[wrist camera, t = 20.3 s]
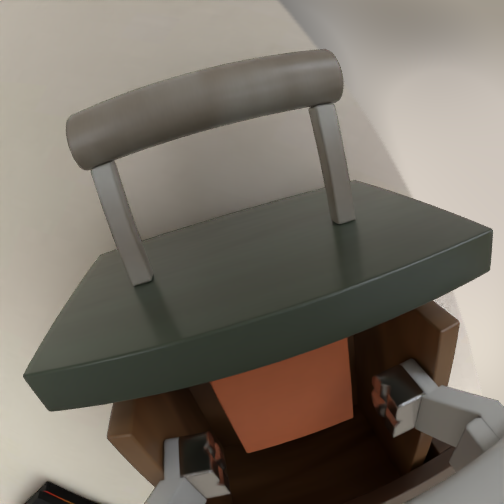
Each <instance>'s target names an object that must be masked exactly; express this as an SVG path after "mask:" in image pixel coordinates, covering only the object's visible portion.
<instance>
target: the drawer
mask: <svg viewBox="0 0 504 504" xmlns="http://www.w3.org/2000/svg"><path fill="white" fill-rule="evenodd" d="M342 93H343V75H342V71H341V67H340V65H339V63H338V60H337V59H336V57H335V56H334V54H333V53H332V52H330V51H329V50H326V49H320V50H309V51H300V52H292V53H285V54H278V55H271V56H265V57H259V58H253V59H248V60H243V61H238V62H233V63H228V64H224V65H219V66H215V67H211V68H206V69H202V70H199V71H195V72H191V73H187V74H184V75H180V76H176V77H173V78H170V79H166V80H163V81H160V82H157V83H153V84H150V85H147V86H144V87H141V88H138V89H136V90H133V91H130V92H127V93H124V94H122V95H119V96H116V97H114V98H111V99H109V100H106V101H104V102H101V103H99V104H96V105H94V106H91V107H89V108H87V109H84V110H82V111H80V112H78V113H75V114H73V115H71V116H70V117H69V118H68V119H67V122H66V136H67V141H68V145H69V148H70V151H71V153H72V156H73V158H74V160H75V161H76V163H77V164H78V166H79V167H80V168H81V169H83V170H91V169H92V170H91V174H92V177H93V181H94V184H95V187H96V190H97V193H98V196H99V199H100V202H101V205H102V208H103V211H104V214H105V216H106V219H107V222H108V225H109V228H110V230H111V233H112V236H113V238H114V241H115V244H116V246H117V249H116V250H113V251H110V252H107V253H104V254H101V255H100V256H99V257H98V258H97V260H96V261H95V262H94V264H93V265H92V267H91V268H90V269H89V271H88V272H87V274H86V275H85V276H84V278H83V279H82V281H81V282H80V284H79V285H78V287H77V288H76V290H75V291H74V292H73V294H72V295H71V297H70V298H69V300H68V301H67V303H66V304H65V306H64V308H63V309H62V311H61V312H60V314H59V315H58V317H57V318H56V320H55V322H54V323H53V325H52V326H51V328H50V330H49V331H48V333H47V334H46V336H45V338H44V339H43V341H42V343H41V344H40V346H39V348H38V350H37V351H36V353H35V355H34V357H33V358H32V360H31V362H30V364H29V365H28V367H27V369H26V371H25V373H24V374H23V377H24V379H25V380H26V382H27V383H28V384H29V386H30V387H31V389H32V390H33V391H34V393H35V394H36V395H37V397H38V398H39V399H40V400H41V402H42V403H43V404H44V405H45V407H46V408H47V409H48V410H49V411H60V410H68V409H76V408H83V407H90V406H97V405H103V404H109V403H113V406H112V411H111V416H110V421H109V427H108V432H107V439H108V440H109V441H110V442H111V443H112V445H113V446H114V447H115V448H116V449H117V450H118V451H119V452H120V453H121V454H122V455H123V456H124V457H125V458H126V460H127V461H128V462H129V463H130V464H131V465H132V466H133V467H134V468H135V469H136V470H137V471H138V472H139V473H140V474H141V475H142V476H144V477H145V478H146V479H147V480H148V481H149V482H150V483H151V484H152V485H153V486H154V487H156V486H157V484H158V483H159V481H160V480H164V441H165V439H169V438H175V437H181V436H187V435H192V434H198V433H203V432H208V431H210V432H211V434H212V435H213V437H214V442H216V443H218V444H219V446H220V448H221V450H222V452H223V455H224V459H225V463H226V468H225V470H224V473H225V474H226V476H227V477H228V480H229V486H230V492H231V494H227V495H223V496H218V497H213V498H208V499H207V501H206V503H205V504H340V503H342V502H345V501H347V500H350V499H352V498H355V497H357V496H360V495H362V494H364V493H367V492H369V491H371V490H374V489H376V488H378V487H380V486H382V485H384V484H386V483H389V482H391V481H393V480H395V479H397V478H399V477H401V476H403V475H405V474H406V473H408V472H410V471H412V470H414V469H416V468H418V467H419V466H421V465H423V463H424V461H425V458H426V455H427V453H428V450H429V447H430V444H431V441H432V438H433V437H432V436H430V435H427V434H425V433H423V432H421V431H419V430H417V429H415V428H413V429H411V430H409V431H407V432H405V433H403V434H400V435H398V436H396V437H394V438H393V437H392V435H391V434H390V432H389V431H388V429H387V427H386V426H385V418H384V417H381V416H379V415H378V413H377V412H376V410H375V408H374V405H373V402H372V397H371V392H372V391H373V389H374V387H373V385H372V377H373V376H375V375H377V374H379V373H381V372H383V371H385V370H387V369H389V368H392V367H394V366H396V365H399V364H401V363H403V362H405V361H407V360H408V359H411V358H412V359H414V360H415V361H416V362H417V363H418V364H419V365H420V366H421V368H422V369H423V370H424V371H425V372H426V373H427V374H428V375H429V377H430V378H431V379H432V380H433V381H434V382H435V383H436V384H437V386H438V387H439V386H441V385H444V386H448V382H449V377H450V373H451V368H452V364H453V359H454V354H455V348H456V343H457V337H458V331H459V324H460V323H459V321H458V320H457V319H456V318H455V317H453V316H452V315H451V314H450V313H448V312H447V311H446V310H444V309H443V308H442V307H441V306H439V305H438V304H437V303H435V302H434V301H433V300H434V299H436V298H439V297H441V296H443V295H445V294H447V293H449V292H451V291H453V290H454V289H456V288H458V287H460V286H462V285H464V284H466V283H468V282H470V281H472V280H474V279H475V278H477V277H479V276H481V275H483V274H485V273H486V272H488V271H489V270H490V265H491V253H492V238H493V230H492V229H491V228H488V227H486V226H484V225H481V224H479V223H476V222H474V221H471V220H469V219H466V218H464V217H461V216H459V215H456V214H454V213H451V212H448V211H446V210H443V209H440V208H438V207H435V206H432V205H430V204H427V203H424V202H421V201H418V200H415V199H413V198H410V197H407V196H404V195H401V194H398V193H395V192H392V191H389V190H386V189H382V188H379V187H376V186H373V185H370V184H366V183H363V182H360V181H356V180H353V181H350V179H349V173H348V168H347V162H346V157H345V152H344V147H343V142H342V137H341V132H340V127H339V123H338V118H337V114H336V109H335V105H334V104H333V103H336V102H337V101H339V100H340V98H341V96H342ZM306 107H310V108H309V114H310V118H311V122H312V126H313V131H314V135H315V140H316V144H317V149H318V154H319V158H320V163H321V168H322V173H323V178H324V183H325V188H322V189H318V190H314V191H310V192H307V193H303V194H299V195H295V196H292V197H288V198H284V199H281V200H277V201H274V202H270V203H266V204H263V205H259V206H256V207H252V208H249V209H245V210H242V211H238V212H235V213H231V214H228V215H225V216H221V217H218V218H214V219H211V220H208V221H204V222H201V223H198V224H195V225H191V226H188V227H185V228H182V229H178V230H175V231H172V232H169V233H166V234H162V235H159V236H156V237H153V238H150V239H147V240H144V241H141V238H140V236H139V233H138V230H137V227H136V224H135V222H134V219H133V216H132V213H131V210H130V207H129V204H128V201H127V198H126V195H125V192H124V189H123V186H122V182H121V179H120V176H119V173H118V170H117V166H116V163H115V162H114V160H116V159H119V158H122V157H124V156H127V155H130V154H133V153H136V152H138V151H141V150H144V149H147V148H150V147H153V146H156V145H159V144H162V143H165V142H168V141H172V140H175V139H178V138H181V137H185V136H188V135H191V134H195V133H198V132H202V131H206V130H209V129H213V128H217V127H220V126H224V125H228V124H232V123H236V122H240V121H244V120H248V119H253V118H257V117H261V116H266V115H271V114H275V113H280V112H285V111H290V110H295V109H301V108H306ZM344 338H347V340H348V350H349V361H350V372H351V385H352V399H353V418H351V419H348V420H346V421H343V422H341V423H339V424H336V425H333V426H331V427H328V428H326V429H323V430H320V431H318V432H315V433H312V434H309V435H306V436H303V437H301V438H298V439H295V440H291V441H288V442H285V443H282V444H279V445H276V446H272V447H269V448H265V449H262V450H258V451H255V452H251V453H247V452H246V451H245V449H244V447H243V445H242V443H241V442H240V440H239V438H238V436H237V434H236V432H235V431H234V429H233V427H232V425H231V423H230V421H229V419H228V418H227V416H226V414H225V412H224V410H223V408H222V406H221V404H220V402H219V400H218V398H217V396H216V394H215V392H214V390H213V388H212V386H211V384H210V382H211V381H215V380H219V379H223V378H226V377H230V376H234V375H237V374H241V373H244V372H247V371H251V370H254V369H257V368H261V367H264V366H267V365H270V364H273V363H277V362H280V361H283V360H286V359H289V358H292V357H295V356H298V355H301V354H304V353H306V352H309V351H312V350H315V349H318V348H320V347H323V346H326V345H329V344H331V343H334V342H337V341H339V340H342V339H344Z"/></svg>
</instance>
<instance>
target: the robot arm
mask: <svg viewBox="0 0 504 504" xmlns="http://www.w3.org/2000/svg"><path fill="white" fill-rule="evenodd" d="M372 385H373V387H374V389H373V391H372V392H371V397H372V402H373V405H374V408H375V410H376V412H377V413H378V415H379V416H381V417H384V418H385V426H386V427H387V429H388V431H389V432H390V434H391V435H392V437H393V438H394V437H396V436H398V435H400V434H403V433H405V432H407V431H409V430H411V429H413V428H415V429H417V430H419V431H421V432H423V433H425V434H427V435H430V436H432V437H434V438H436V439H438V440H440V441H443V442H445V443H447V444H449V445H452V446H454V447H456V448H455V450H454V452H453V454H452V456H451V458H450V461H449V463H450V465H451V466H452V468H453V469H454V471H455V472H456V473H454V474H453V475H451V476H450V477H448V478H446V479H445V480H443V481H442V482H440V483H438V484H437V485H435V486H433V487H432V488H430V489H428V490H427V491H425V492H423V493H421V494H420V495H418V496H416V497H414V498H412V499H410V500H408V501H407V502H405V503H403V504H504V406H503V405H502V404H501V403H500V402H499V401H498V400H494V399H490V398H487V397H483V396H479V395H475V394H472V393H468V392H465V391H461V390H458V389H454V388H451V387H447V386H444V385H441V386H439V387H438V386H437V384H436V383H435V382H434V381H433V380H432V379H431V378H430V377H429V375H428V374H427V373H426V372H425V371H424V370H423V369H422V368H421V366H420V365H419V364H418V363H417V362H416V361H415V360H414V359H412V358H411V359H408V360H407V361H405V362H403V363H401V364H399V365H396V366H394V367H392V368H389V369H387V370H385V371H383V372H381V373H379V374H377V375H375V376H373V377H372ZM225 468H226V463H225V459H224V455H223V452H222V450H221V448H220V446H219V444H218V443H216V442H214V437H213V435H212V434H211V432H210V431H208V432H203V433H198V434H192V435H187V436H181V437H175V438H169V439H165V441H164V480H160V481H159V483H158V484H157V486H156V487H155V489H154V490H153V491H152V493H151V494H150V496H149V497H148V499H147V500H146V502H145V503H144V504H205V503H206V501H207V499H208V498H213V497H218V496H223V495H227V494H231V492H230V486H229V480H228V477H227V476H226V474H225V473H224V470H225Z"/></svg>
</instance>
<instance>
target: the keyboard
mask: <svg viewBox="0 0 504 504" xmlns="http://www.w3.org/2000/svg"><path fill="white" fill-rule="evenodd" d="M25 504H97V503H94V502H92V501H90V500H87V499H85V498H82V497H80V496H78V495H76V494H73V493H71V492H69V491H67V490H65V489H63V488H61V487H59V486H57V485H55V484H53V483H51V482H46V483H45V484H44V485H43V486H42V487H41V488H40V489H39V490H38V491H37V492H36V493H35V494H34V495H33V496H32V497H31V498H30V499H29V500H28V501H27V502H26V503H25Z"/></svg>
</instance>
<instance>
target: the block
mask: <svg viewBox="0 0 504 504" xmlns="http://www.w3.org/2000/svg"><path fill="white" fill-rule="evenodd" d="M210 384H211V386H212V388H213V390H214V392H215V394H216V396H217V398H218V400H219V402H220V404H221V406H222V408H223V410H224V412H225V414H226V416H227V418H228V419H229V421H230V423H231V425H232V427H233V429H234V431H235V432H236V434H237V436H238V438H239V440H240V442H241V443H242V445H243V447H244V449H245V451H246V452H247V453H251V452H255V451H258V450H262V449H265V448H269V447H272V446H276V445H279V444H282V443H285V442H288V441H291V440H295V439H298V438H301V437H303V436H306V435H309V434H312V433H315V432H318V431H320V430H323V429H326V428H328V427H331V426H333V425H336V424H339V423H341V422H343V421H346V420H348V419H351V418H353V399H352V385H351V372H350V361H349V350H348V340H347V338H344V339H342V340H339V341H337V342H334V343H331V344H329V345H326V346H323V347H320V348H318V349H315V350H312V351H309V352H306V353H304V354H301V355H298V356H295V357H292V358H289V359H286V360H283V361H280V362H277V363H273V364H270V365H267V366H264V367H261V368H257V369H254V370H251V371H247V372H244V373H241V374H237V375H234V376H230V377H226V378H223V379H219V380H215V381H211V382H210Z"/></svg>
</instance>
